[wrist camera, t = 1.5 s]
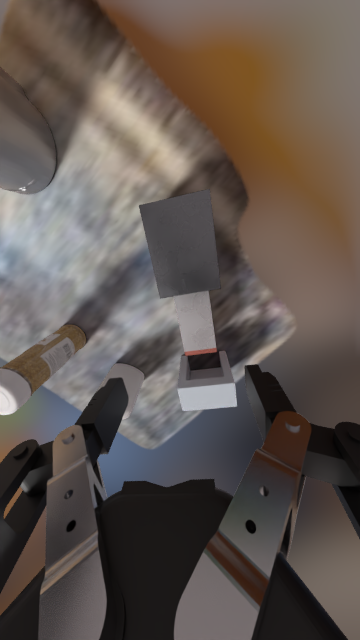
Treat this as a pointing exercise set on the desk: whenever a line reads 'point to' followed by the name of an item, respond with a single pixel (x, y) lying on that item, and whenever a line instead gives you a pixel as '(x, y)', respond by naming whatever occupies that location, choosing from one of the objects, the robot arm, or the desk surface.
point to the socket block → (206, 386)
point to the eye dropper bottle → (126, 382)
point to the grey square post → (196, 322)
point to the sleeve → (182, 243)
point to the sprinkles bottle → (37, 366)
